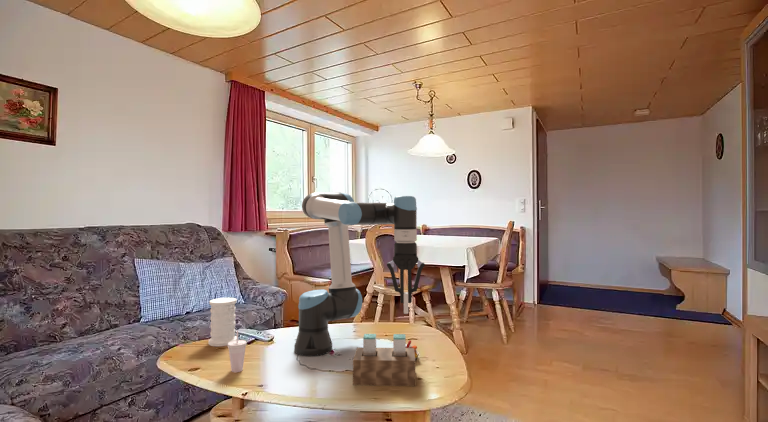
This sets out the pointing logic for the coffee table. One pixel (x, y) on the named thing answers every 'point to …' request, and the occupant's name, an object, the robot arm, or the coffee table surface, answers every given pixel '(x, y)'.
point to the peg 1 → (369, 345)
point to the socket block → (384, 368)
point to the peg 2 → (399, 345)
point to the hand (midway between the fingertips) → (406, 312)
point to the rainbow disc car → (412, 347)
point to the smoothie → (237, 354)
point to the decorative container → (222, 321)
